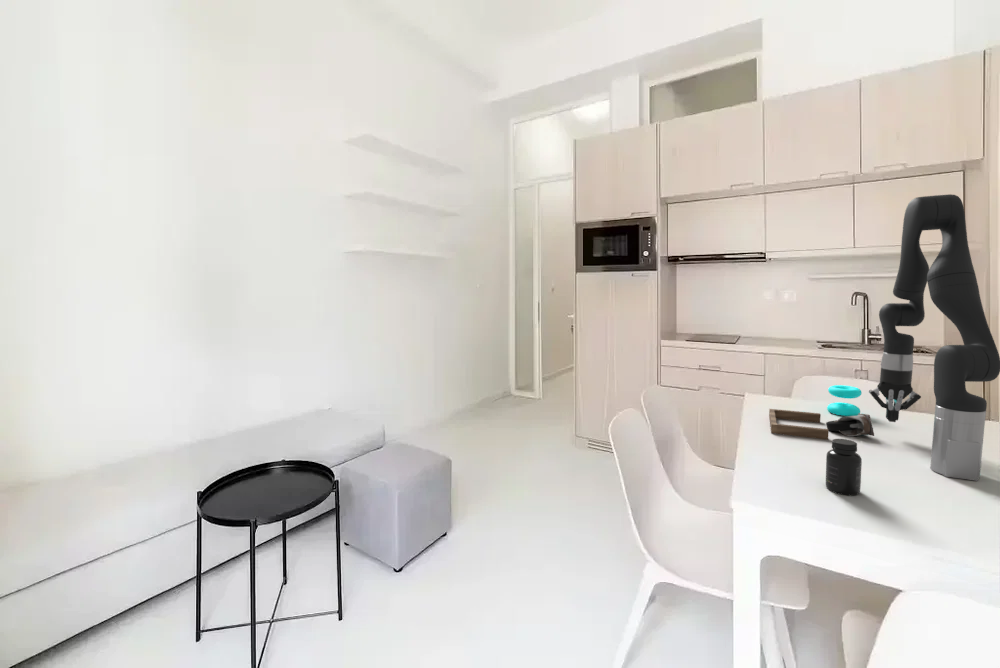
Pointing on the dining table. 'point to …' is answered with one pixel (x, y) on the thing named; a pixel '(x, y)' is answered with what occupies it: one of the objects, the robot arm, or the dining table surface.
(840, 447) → the supplement bottle
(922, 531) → the dining table surface
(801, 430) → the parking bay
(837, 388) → the donuts
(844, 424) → the caster wheel
